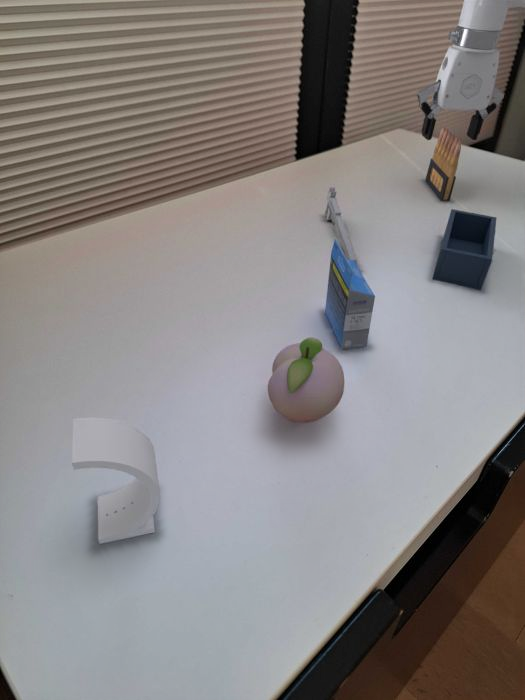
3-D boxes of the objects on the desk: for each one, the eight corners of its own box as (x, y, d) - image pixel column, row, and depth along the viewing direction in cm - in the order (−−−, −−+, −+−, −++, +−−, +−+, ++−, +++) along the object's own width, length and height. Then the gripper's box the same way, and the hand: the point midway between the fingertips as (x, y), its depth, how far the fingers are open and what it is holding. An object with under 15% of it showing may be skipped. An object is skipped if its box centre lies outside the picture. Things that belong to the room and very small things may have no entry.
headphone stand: (98, 501, 50) (73, 418, 42) (161, 489, 51) (147, 406, 43) (99, 544, 46) (71, 463, 38) (166, 530, 47) (152, 449, 40)
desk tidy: (486, 246, 91) (496, 217, 88) (480, 290, 80) (492, 259, 77) (443, 237, 93) (451, 208, 90) (432, 279, 82) (441, 248, 79)
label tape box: (367, 347, 69) (384, 269, 61) (338, 350, 68) (351, 271, 60) (348, 309, 75) (361, 234, 67) (322, 311, 75) (331, 235, 67)
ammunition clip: (449, 201, 105) (466, 142, 98) (441, 201, 105) (457, 142, 98) (432, 180, 114) (447, 124, 106) (424, 180, 113) (438, 124, 106)
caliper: (323, 215, 99) (327, 184, 95) (329, 215, 99) (333, 184, 95) (351, 271, 83) (357, 237, 79) (357, 271, 83) (364, 236, 79)
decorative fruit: (335, 450, 55) (348, 384, 49) (261, 438, 56) (264, 372, 50) (340, 390, 62) (352, 325, 56) (274, 380, 63) (278, 316, 57)
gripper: (439, 42, 87) (415, 144, 98) (531, 45, 89) (497, 144, 101) (422, 34, 93) (401, 131, 104) (509, 37, 95) (480, 132, 106)
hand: (448, 137), depth 102 cm, fingers open, 9 cm apart
